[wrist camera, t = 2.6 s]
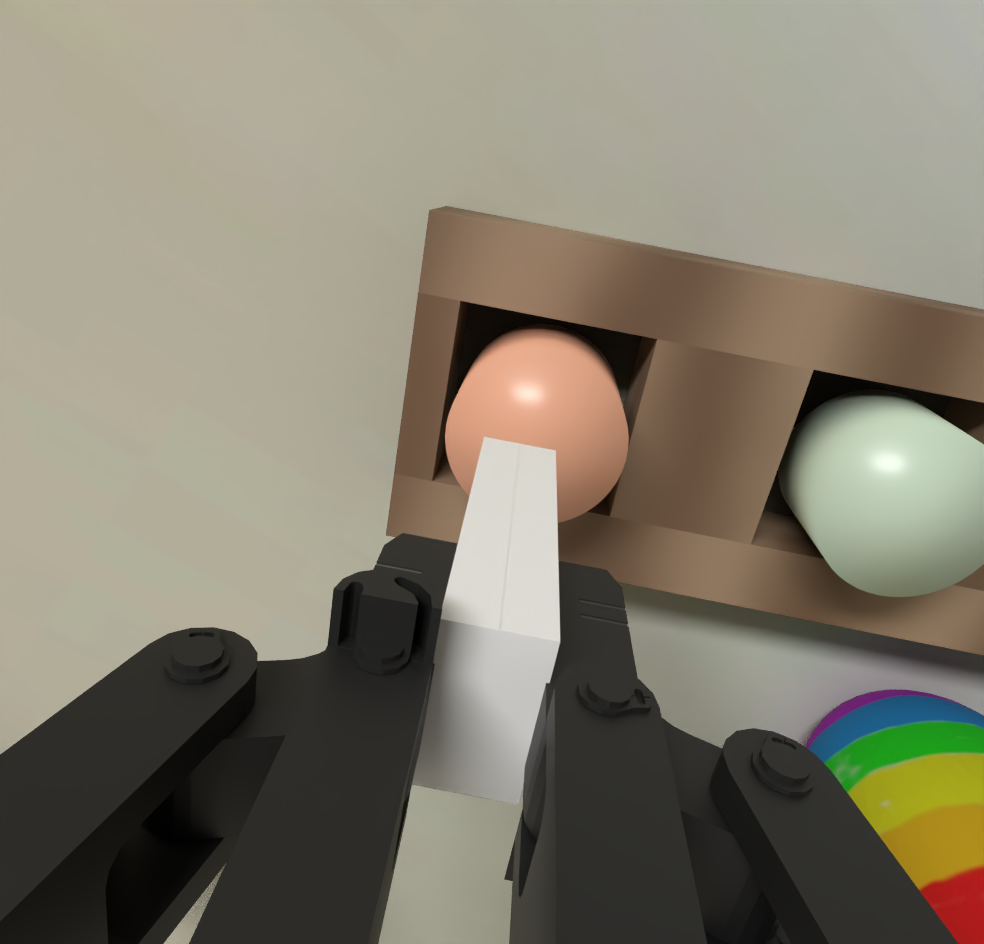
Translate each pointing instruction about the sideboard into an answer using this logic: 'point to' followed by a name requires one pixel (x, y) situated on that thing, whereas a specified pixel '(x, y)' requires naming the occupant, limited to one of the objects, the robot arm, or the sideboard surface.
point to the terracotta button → (543, 411)
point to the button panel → (691, 410)
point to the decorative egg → (918, 791)
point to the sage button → (887, 492)
